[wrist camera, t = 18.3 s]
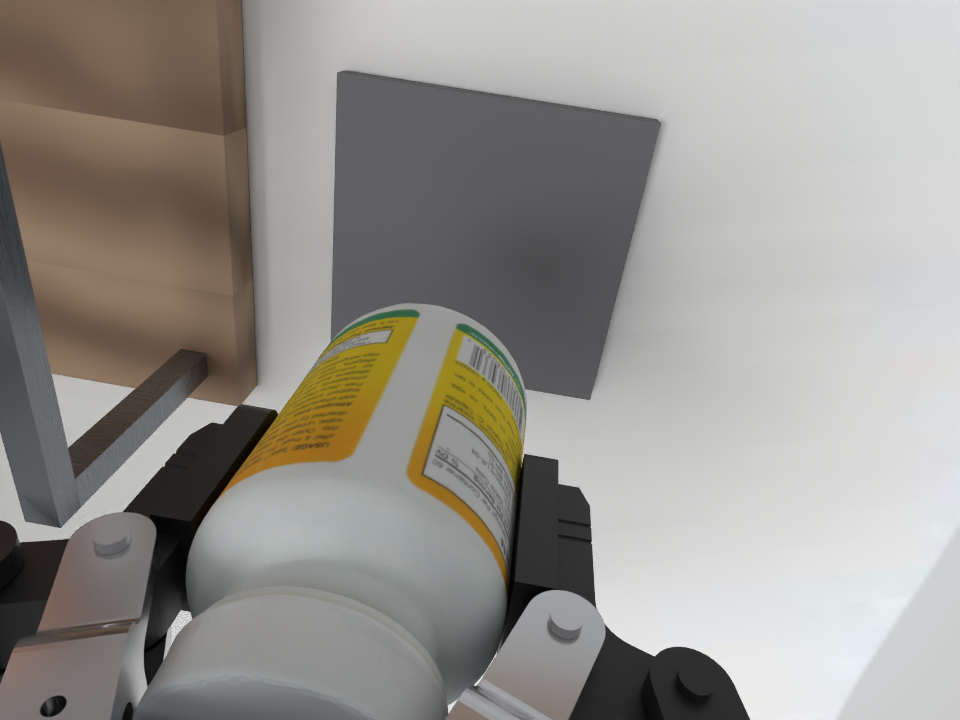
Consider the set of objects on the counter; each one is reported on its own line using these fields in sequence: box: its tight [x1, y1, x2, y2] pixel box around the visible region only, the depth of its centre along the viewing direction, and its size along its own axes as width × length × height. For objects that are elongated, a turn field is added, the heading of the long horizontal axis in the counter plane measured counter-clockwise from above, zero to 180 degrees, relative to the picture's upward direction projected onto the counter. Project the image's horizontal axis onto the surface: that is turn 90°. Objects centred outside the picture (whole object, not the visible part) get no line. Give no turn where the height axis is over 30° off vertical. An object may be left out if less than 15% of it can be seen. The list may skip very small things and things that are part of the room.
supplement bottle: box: [132, 303, 527, 720], centre depth 12 cm, size 5×5×10 cm
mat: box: [331, 71, 661, 400], centre depth 27 cm, size 12×12×1 cm
